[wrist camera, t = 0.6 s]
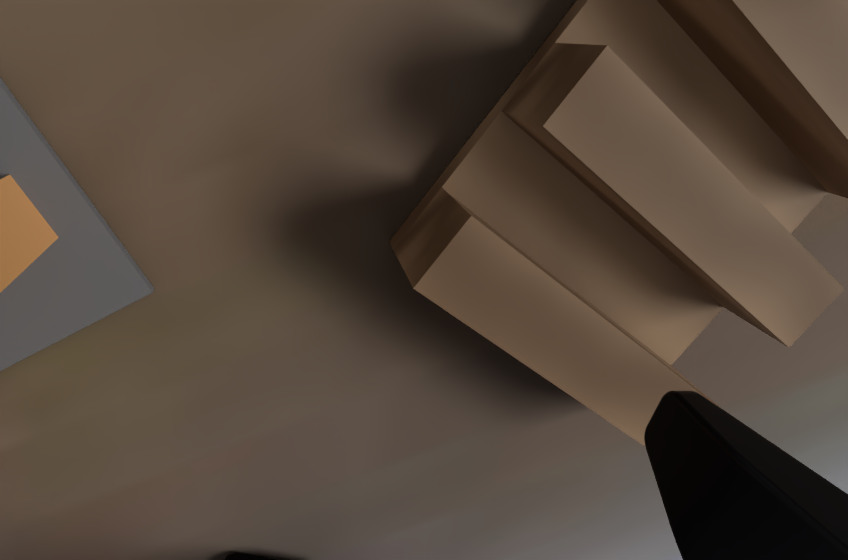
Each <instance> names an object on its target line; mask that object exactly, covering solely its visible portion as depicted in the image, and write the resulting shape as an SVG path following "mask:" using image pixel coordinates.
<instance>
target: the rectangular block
mask: <svg viewBox="0 0 848 560" xmlns="http://www.w3.org/2000/svg"><path fill="white" fill-rule="evenodd" d="M58 238H59V237H58V236H57V235H56V233H55V232H54V231H53V229H52V228H51V227H50V226H49V224H48V223H47V222H46V220H45V219H44V218H43V216H42V215H41V214H40V213H39V211H38V210H37V209H36V207H35V206H34V205H33V204H32V202H31V201H30V200H29V198H28V197H27V196H26V195H25V193H24V192H23V191H22V189H21V188H20V187H19V185H18V184H17V183H16V182H15V180H14V179H13V178H12V176H11V175H8V176H6V177H4V178H2V179H0V293H1V292H2V291H3V290H4V289H5V288H6V287H7V286H8V285H9V284H10V283H11V282H12V281H13V280H14V279H15V278H17V277H18V276H19V275H20V274H21V273H22V272H23V271H24V270H25V269H26V268H27V267H28V266H29V265H30V264H31V263H32V262H33V261H34V260H36V259H37V258H38V257H39V256H40V255H41V254H42V253H43V252H44V251H45V250H46V249H47V248H48V247H49V246H50V245H51V244H52V243H54V242H55V241H56V240H57V239H58Z"/></svg>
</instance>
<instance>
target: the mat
mask: <svg viewBox="0 0 848 560" xmlns="http://www.w3.org/2000/svg"><path fill="white" fill-rule="evenodd" d="M8 175H11V176H12V178H13V179H14V180H15V182H16V183H17V184H18V185H19V187H20V188H21V189H22V191H23V192H24V193H25V195H26V196H27V197H28V198H29V200H30V201H31V202H32V204H33V205H34V206H35V207H36V209H37V210H38V211H39V213H40V214H41V215H42V216H43V218H44V219H45V220H46V222H47V223H48V224H49V226H50V227H51V228H52V229H53V231H54V232H55V233H56V235H57V236H58V237H59V238H58V239H57V240H56V241H55V242H54V243H52V244H51V245H50V246H49V247H48V248H47V249H46V250H45V251H44V252H43V253H42V254H41V255H40V256H39V257H38V258H37V259H36V260H34V261H33V262H32V263H31V264H30V265H29V266H28V267H27V268H26V269H25V270H24V271H23V272H22V273H21V274H20V275H19V276H18V277H17V278H15V279H14V280H13V281H12V282H11V283H10V284H9V285H8V286H7V287H6V288H5V289H4V290H3V291H2V292H1V293H0V371H1V370H3V369H5V368H7V367H9V366H11V365H13V364H15V363H17V362H19V361H21V360H23V359H24V358H26V357H28V356H30V355H32V354H34V353H36V352H38V351H40V350H42V349H44V348H46V347H48V346H50V345H52V344H54V343H55V342H57V341H59V340H61V339H63V338H65V337H67V336H69V335H71V334H73V333H75V332H77V331H79V330H81V329H83V328H85V327H87V326H88V325H90V324H92V323H94V322H96V321H98V320H100V319H102V318H104V317H106V316H108V315H110V314H112V313H114V312H116V311H118V310H120V309H121V308H123V307H125V306H127V305H129V304H131V303H133V302H135V301H137V300H139V299H141V298H143V297H145V296H147V295H149V294H151V293H152V292H153V290H154V288H153V286H152V285H151V283H150V282H149V281H148V279H147V278H146V277H145V275H144V274H143V272H142V271H141V270H140V268H139V267H138V266H137V264H136V263H135V262H134V260H133V259H132V257H131V256H130V255H129V253H128V252H127V251H126V249H125V248H124V246H123V245H122V244H121V242H120V241H119V240H118V238H117V237H116V235H115V234H114V233H113V231H112V230H111V229H110V227H109V226H108V225H107V223H106V222H105V220H104V219H103V218H102V216H101V215H100V214H99V212H98V211H97V209H96V208H95V207H94V205H93V204H92V203H91V201H90V200H89V198H88V197H87V196H86V194H85V193H84V192H83V190H82V189H81V187H80V186H79V185H78V183H77V182H76V181H75V179H74V178H73V177H72V175H71V174H70V172H69V171H68V170H67V168H66V167H65V166H64V164H63V163H62V161H61V160H60V159H59V157H58V156H57V155H56V153H55V152H54V150H53V149H52V148H51V146H50V145H49V144H48V142H47V141H46V139H45V138H44V137H43V135H42V134H41V133H40V131H39V130H38V129H37V127H36V126H35V124H34V123H33V122H32V120H31V119H30V118H29V116H28V115H27V113H26V112H25V111H24V109H23V108H22V107H21V105H20V104H19V102H18V101H17V100H16V98H15V97H14V96H13V94H12V93H11V91H10V90H9V89H8V87H7V86H6V85H5V83H4V82H3V81H2V79H1V78H0V179H2V178H4V177H6V176H8Z"/></svg>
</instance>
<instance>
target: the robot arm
mask: <svg viewBox="0 0 848 560" xmlns="http://www.w3.org/2000/svg"><path fill="white" fill-rule="evenodd" d="M644 441H645V446H646V450H647V453H648V456H649V459H650V463H651V466H652V469H653V472H654V475H655V478H656V482H657V485H658V488H659V491H660V494H661V497H662V501H663V504H664V507H665V510H666V513H667V516H668V520H669V523H670V526H671V529H672V532H673V535H674V537H675V540H676V543H677V546H678V548H679V551H680V553H681V556H682V558H683V560H848V494H847V493H845V492H844V491H842V490H841V489H839V488H838V487H836V486H835V485H833V484H832V483H830V482H829V481H827V480H826V479H824V478H823V477H821V476H820V475H818V474H817V473H816V472H814V471H813V470H811V469H810V468H808V467H807V466H805V465H804V464H802V463H801V462H799V461H798V460H796V459H795V458H793V457H792V456H790V455H789V454H788V453H786V452H785V451H783V450H782V449H780V448H779V447H777V446H776V445H774V444H773V443H771V442H770V441H768V440H767V439H765V438H764V437H762V436H761V435H759V434H758V433H757V432H755V431H754V430H752V429H751V428H749V427H748V426H746V425H745V424H743V423H742V422H740V421H739V420H737V419H736V418H734V417H733V416H731V415H730V414H729V413H727V412H726V411H724V410H723V409H721V408H720V407H718V406H717V405H715V404H714V403H712V402H711V401H709V400H708V399H706V398H705V397H703V396H702V395H701V394H699V393H697V392H694V391H668V392H667V393H666V394H664V395H663V397H662V398H661V400H660V402H659V404H658V406H657V408H656V410H655V411H654V413H653V415H652V417H651V419H650V421H649V423H648V425H647V427H646V429H645V433H644ZM225 560H274V559H268V558H263V557H257V556H251V555H245V554H239V553H234V554H230V555H229V556H227V557H226V558H225Z"/></svg>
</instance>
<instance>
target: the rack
mask: <svg viewBox="0 0 848 560" xmlns="http://www.w3.org/2000/svg"><path fill="white" fill-rule="evenodd" d="M828 192H829V193H832V194H836V195H839V196H842V197H846V198H848V0H577V1H576V2H575V3H574V5H573V6H572V7H571V8H570V10H569V11H568V12H567V14H566V15H565V16H564V17H563V19H562V20H561V21H560V23H559V24H558V25H557V26H556V28H555V29H554V30H553V32H552V33H551V34H550V35H549V37H548V38H547V39H546V41H545V42H544V43H543V44H542V46H541V47H540V48H539V50H538V51H537V52H536V53H535V55H534V56H533V57H532V59H531V60H530V61H529V62H528V64H527V65H526V66H525V68H524V69H523V70H522V71H521V73H520V74H519V75H518V77H517V78H516V79H515V80H514V82H513V83H512V84H511V86H510V87H509V88H508V89H507V91H506V92H505V93H504V95H503V96H502V97H501V98H500V100H499V101H498V102H497V104H496V105H495V106H494V107H493V109H492V110H491V111H490V113H489V114H488V115H487V116H486V118H485V119H484V120H483V121H482V123H481V124H480V125H479V127H478V128H477V129H476V130H475V132H474V133H473V134H472V136H471V137H470V138H469V139H468V141H467V142H466V143H465V145H464V146H463V147H462V148H461V150H460V151H459V152H458V154H457V155H456V156H455V157H454V159H453V160H452V161H451V163H450V164H449V165H448V166H447V168H446V169H445V170H444V172H443V173H442V174H441V175H440V177H439V178H438V179H437V181H436V182H435V183H434V184H433V186H432V187H431V188H430V190H429V191H428V192H427V193H426V195H425V196H424V197H423V199H422V200H421V201H420V202H419V204H418V205H417V206H416V208H415V209H414V210H413V211H412V213H411V214H410V215H409V217H408V218H407V219H406V220H405V222H404V223H403V224H402V226H401V227H400V228H399V229H398V231H397V232H396V233H395V235H394V236H393V237H392V238H391V240H390V241H389V243H390V245H391V247H392V249H393V251H394V253H395V254H396V256H397V258H398V260H399V262H400V264H401V266H402V268H403V270H404V272H405V274H406V276H407V278H408V279H409V281H410V283H411V285H412V287H413V289H415V290H416V291H418V292H419V293H421V294H422V295H423V296H425V297H426V298H428V299H429V300H431V301H432V302H434V303H435V304H437V305H438V306H440V307H441V308H443V309H444V310H445V311H447V312H448V313H450V314H451V315H453V316H454V317H456V318H457V319H459V320H460V321H462V322H463V323H465V324H466V325H467V326H469V327H470V328H472V329H473V330H475V331H476V332H478V333H479V334H481V335H482V336H484V337H485V338H487V339H488V340H489V341H491V342H492V343H494V344H495V345H497V346H498V347H500V348H501V349H503V350H504V351H506V352H507V353H509V354H510V355H511V356H513V357H514V358H516V359H517V360H519V361H520V362H522V363H523V364H525V365H526V366H528V367H529V368H531V369H532V370H533V371H535V372H536V373H538V374H539V375H541V376H542V377H544V378H545V379H547V380H548V381H550V382H551V383H553V384H554V385H555V386H557V387H558V388H560V389H561V390H563V391H564V392H566V393H567V394H569V395H570V396H572V397H573V398H575V399H576V400H578V401H579V402H580V403H582V404H583V405H585V406H586V407H588V408H589V409H591V410H592V411H594V412H595V413H597V414H598V415H600V416H601V417H602V418H604V419H605V420H607V421H608V422H610V423H611V424H613V425H614V426H616V427H617V428H619V429H620V430H622V431H623V432H624V433H626V434H627V435H629V436H630V437H632V438H633V439H635V440H636V441H638V442H639V443H641V444H642V445H644V446H645V441H644V433H645V429H646V427H647V425H648V423H649V421H650V419H651V417H652V415H653V413H654V411H655V410H656V408H657V406H658V404H659V402H660V400H661V398H662V397H663V395H664V394H666V393H667V392H668V391H694V392H697V393H699V394H701V395H702V396H703V397H705V398H706V399H708V400H709V401H711V402H712V403H714V402H713V401H712V400H711V399H709V398H708V397H707V396H706V395H705V394H704V393H702V392H701V391H700V390H699V389H698V388H697V387H695V386H694V385H693V384H692V383H691V382H690V381H688V380H687V379H686V378H685V377H684V376H683V375H681V374H680V373H679V372H678V371H677V370H676V369H674V368H673V367H672V366H671V365H672V364H673V363H674V361H675V360H676V359H677V358H678V357H679V356H680V355H681V354H682V353H683V352H684V350H685V349H686V348H687V347H688V346H689V345H690V344H691V343H692V342H693V341H694V339H695V338H696V337H697V336H698V335H699V334H700V333H701V332H702V331H703V330H704V328H705V327H706V326H707V325H708V324H709V323H710V322H711V321H712V320H713V319H714V317H715V316H716V315H717V314H718V313H719V312H720V311H721V310H722V309H723V307H724V308H726V309H728V310H729V311H731V312H733V313H734V314H736V315H737V316H739V317H741V318H742V319H744V320H745V321H747V322H749V323H750V324H752V325H753V326H755V327H757V328H758V329H760V330H761V331H763V332H765V333H766V334H768V335H769V336H771V337H773V338H774V339H776V340H777V341H779V342H781V343H782V344H784V345H785V346H787V347H790V346H791V345H792V344H793V343H794V342H795V341H796V340H797V339H798V337H799V336H800V335H801V334H802V333H803V332H804V331H805V330H806V329H807V328H808V327H809V326H810V325H811V324H812V323H813V322H814V320H815V319H816V318H817V317H818V316H819V315H820V314H821V313H822V312H823V311H824V310H825V309H826V308H827V307H828V306H829V305H830V303H831V302H832V301H833V300H834V299H835V298H836V297H837V296H838V295H839V294H840V293H841V292H842V291H843V290H844V288H843V287H842V286H841V285H840V284H839V283H838V282H837V281H836V280H835V279H834V278H833V277H832V276H831V275H830V273H829V272H828V271H827V270H826V269H825V268H824V267H823V266H822V265H821V264H820V263H819V262H818V261H817V260H816V259H815V258H814V257H813V256H812V255H811V254H810V253H809V252H808V251H807V250H806V249H805V248H804V247H803V246H802V245H801V244H800V243H799V242H798V241H797V240H796V239H795V238H794V236H793V235H792V234H791V233H792V231H793V230H794V229H795V228H796V227H797V226H798V225H799V224H800V223H801V222H802V220H803V219H804V218H805V217H806V216H807V215H808V214H809V213H810V212H811V210H812V209H813V208H814V207H815V206H816V205H817V204H818V203H819V202H820V201H821V199H822V198H823V197H824V196H825V195H826V194H827V193H828ZM714 404H715V403H714ZM715 405H716V404H715ZM717 406H718V405H717ZM718 407H719V406H718ZM645 447H646V446H645Z"/></svg>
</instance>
